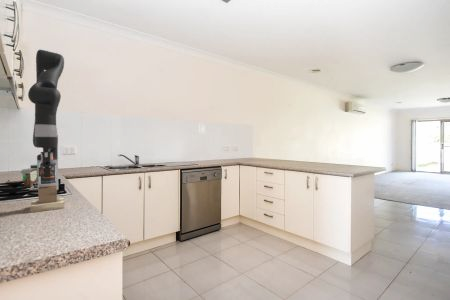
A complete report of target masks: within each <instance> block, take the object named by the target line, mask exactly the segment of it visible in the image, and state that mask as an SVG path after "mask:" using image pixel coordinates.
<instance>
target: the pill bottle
mask: <svg viewBox="0 0 450 300" xmlns="http://www.w3.org/2000/svg"><path fill="white" fill-rule="evenodd" d="M45 164H49V163H45ZM50 164H51V168H50V175H51V176H50V177H44V168H43V166H42V165H43V163H42V161H41V162H40V163H39V164H38V169H39V184H41V185H46V184H54V183H56V162H54V161H53V157H52V163H50Z"/></svg>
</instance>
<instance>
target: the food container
mask: <svg viewBox="0 0 450 300" xmlns="http://www.w3.org/2000/svg"><path fill="white" fill-rule="evenodd" d="M20 173H21V174H22V180H23V182H22V183H23V186H24V187H33V186H34V185H33V184H35V185H37V184H38V181H37V168H31V167H29V168H23V169H21V171H20ZM36 183H37V184H36Z"/></svg>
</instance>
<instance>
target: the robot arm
mask: <svg viewBox="0 0 450 300" xmlns="http://www.w3.org/2000/svg"><path fill="white" fill-rule="evenodd" d="M35 63H36V64H35V67H36V68H35V71H36V75H35V77H36V82H35V83H33V84H32V86H31V87H30V88H29V90H28V93H27V96H28V99H29V101H30V102H31V103H33V104H34V108H35V109H34V123H33V124H34V125H33V132H32V133H33V134H32V145H33V146H34V148H37V149H39V148H40V149H42V151H41V152H40V154H39V153H38V154H37V155H36V165H37V172H38V181H37V189H38V188H39V187H41V186H53V185H57V191H58V190H59V163H58V162H59V157H58V145H59V135H58V128H57V112H58V107H59V105H60V101H61V97H62V96H61V92H60V91H59V90H58V83H59V80H60V77H61V75H62V73H63V71H64V67H65V57H64V56H63V55H62V54H60V53H58V52H52V51H48V50H45V49H44V50H43V49H38V50H37V51H36V57H35ZM52 157H53V161H54V162H56V183H54V184H46V185H41V184H39V169H38V164H39V163H40V162H41V161H42V163H43V165H42V166H43V168H44V177H50V176H51V175H50V168H51V164H50V163H52ZM45 163H49V164H45Z"/></svg>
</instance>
